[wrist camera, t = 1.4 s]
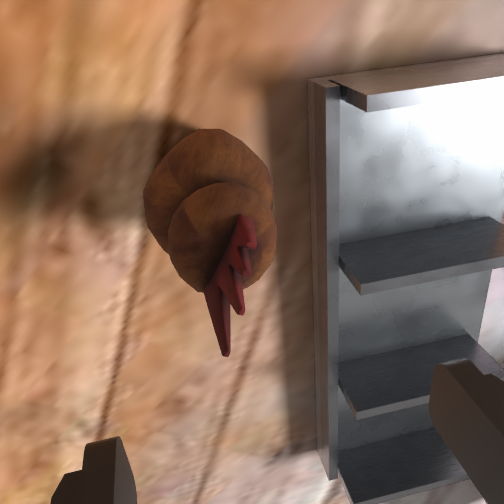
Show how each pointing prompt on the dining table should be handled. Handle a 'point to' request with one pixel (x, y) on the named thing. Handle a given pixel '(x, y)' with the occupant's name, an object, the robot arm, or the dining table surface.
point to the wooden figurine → (214, 219)
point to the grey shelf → (400, 260)
